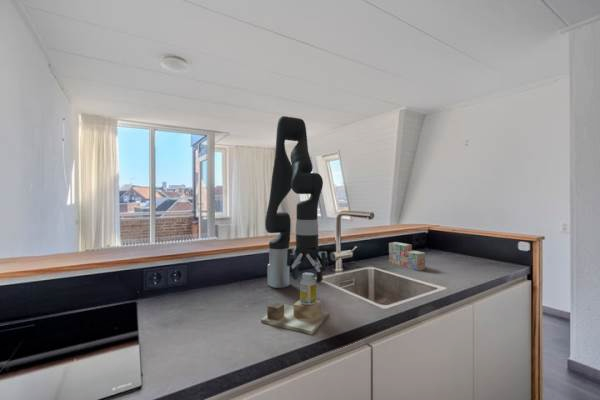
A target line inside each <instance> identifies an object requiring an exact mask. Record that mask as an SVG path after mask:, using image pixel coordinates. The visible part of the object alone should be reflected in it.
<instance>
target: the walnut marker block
mask: <svg viewBox="0 0 600 400" xmlns="http://www.w3.org/2000/svg"><path fill="white" fill-rule="evenodd" d="M284 304H285V303H281V302H276V301H273V302H271V303H270V304H269V305H267V306H266V307H267V308H266V309H267V310H266V311H267V314H266V315H267V318H268V319H273V320H277V321H278V320H280V319H281V318H282V317H283V316H284Z"/></svg>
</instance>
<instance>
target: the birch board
mask: <svg viewBox="0 0 600 400" xmlns="http://www.w3.org/2000/svg"><path fill="white" fill-rule="evenodd" d="M283 304H284V316H283V317H282V318H281V319H280V320H278V321H277V320H273V319H268V318H267V314H266V315H265V316H264V317H262V318H261V319H260V323H262V324H267V325H271V326H275V327H278V328H279V327H280V328H283V329H287V330H292V331H295V332H300V333H303V334H304V333H305V334H308V335H313V334H314V332H315V331H316V330H318V328H320V326H321V325H322V324H323V323H324V321H326V320H327V318H328V317H329V316H330V315H329V312H324V311H321V313H320V314H319V315H318V316H317V317H316V318H315V319H314V320H308V319H303V318H299V317H294V305H290V304H285V303H283Z"/></svg>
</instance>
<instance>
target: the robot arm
mask: <svg viewBox="0 0 600 400" xmlns="http://www.w3.org/2000/svg"><path fill="white" fill-rule="evenodd" d="M277 121H278V122H277V124H276V126H277V127H276V137H275V138H276V140H275V141H276V142H275V154H274V161H273V167H272V174H271V182H270V183H271V184H270V193H269V201H268V206H267V210H266V216H265V222H264V225H265V230H266V232H267V233H269V234H278V235H277V237H275V238H274V239H272V240H270V241H269V242H268V257H269V258H268V261H269V263H268V264H267V268H266V269H267V272H266V274H267V286H270V287H271V288H275V289H280V288H281V289H282V288H283V289H284V288H287V287H289V286H290V267H291V270H292V271H291V272H292V275H291V277H292V278H293V280H295V281H296V280H298V279H299V267H298V266H299V265H300V264H305V263H306V264H309V265H310V264H311V265H312V267H314V269H315V270H316V284H320V283H321V282H322V281H323V279H324V278H323V276H324V275H323V274H324V273H323V272H324V271H325V272H326V271H327V270H328V269H329V262H328V261H329V257H328V251H327V250H325V251H320V250H319V224H318V223H319V221H318V210H319V207H318V206H319V201H320V197H321V193H322V190H323V186H324V180H323V177H322V175H321V174H319V173H317V172H313V163H312V160H311V156H310V152H309V146H308V134H307V126H306V122H305V121H304V119H302V118H299V117H292V116H287V115H282V116H280V117H279V118H278V120H277ZM286 141H292V142H297V143H296V145H294V147H293V149H292V150H291V152H290V159H289V157H288V154H287V151H286V145H285V143H286ZM291 190H292V192H293V193H295V194H297V195H310V196H309V198H308V199H306V200H302V201H298V202H297V204H296V222H295V246H296V247H295V248H294V247H290V243H291V224H292V223H291V216H290V214H289V213H288V212H285V211H284V212H281V211H280V212H278V210H279V208H280V207H279V206H281V204H282V202H283V200H284V199H285V198H286V197H287V195H289V193H290V192H291ZM294 255H296V259H295V260H294ZM318 257H319V258H320V259H321V261H320V260H319V258H318Z"/></svg>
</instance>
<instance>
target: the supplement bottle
mask: <svg viewBox="0 0 600 400" xmlns="http://www.w3.org/2000/svg"><path fill="white" fill-rule="evenodd" d="M301 278H302V279H301V280H300V281H299V300H300V302H301V304H303V305H312V304H315V303H316V300H317V280H315V279H314V278H315V273H313V272H303V273H302V274H301Z"/></svg>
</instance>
